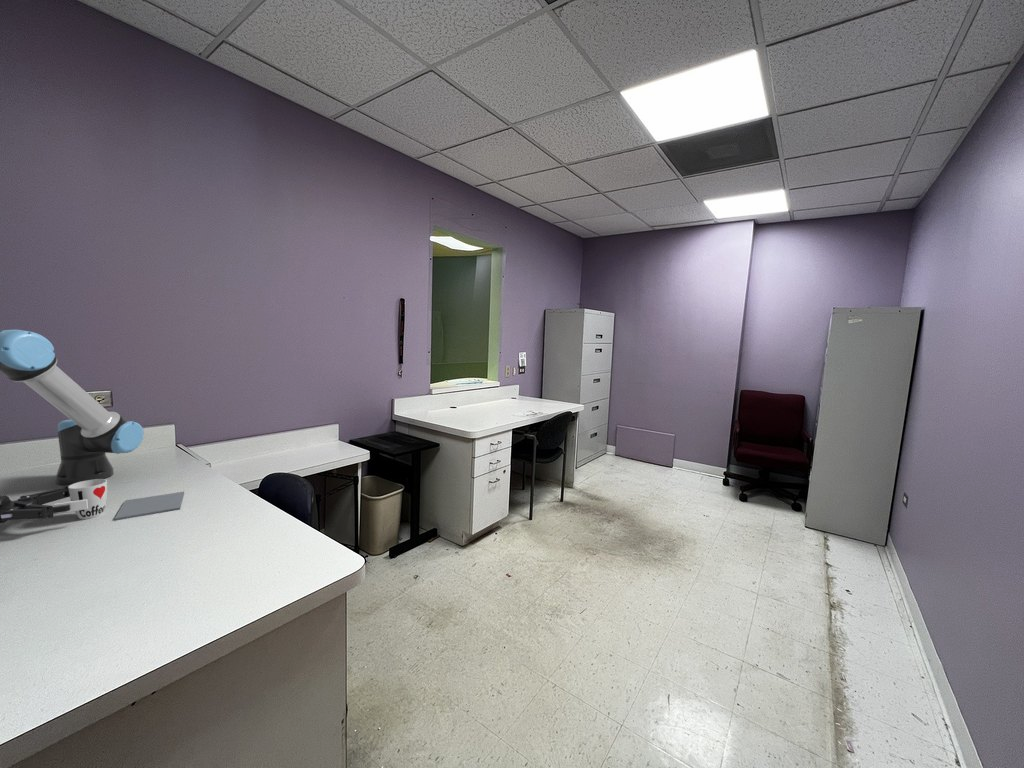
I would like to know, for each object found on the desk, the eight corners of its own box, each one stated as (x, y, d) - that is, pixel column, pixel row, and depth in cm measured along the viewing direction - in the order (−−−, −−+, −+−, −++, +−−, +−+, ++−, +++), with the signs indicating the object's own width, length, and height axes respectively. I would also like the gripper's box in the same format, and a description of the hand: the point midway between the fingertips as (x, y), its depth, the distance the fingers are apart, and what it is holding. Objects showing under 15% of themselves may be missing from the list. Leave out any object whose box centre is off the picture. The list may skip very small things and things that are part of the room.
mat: (125, 502, 134) (125, 500, 134) (184, 493, 143) (184, 491, 143) (114, 520, 121) (114, 518, 121) (180, 509, 130) (179, 507, 130)
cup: (73, 524, 118) (70, 490, 117) (69, 516, 123) (66, 484, 122) (112, 514, 125) (109, 483, 124) (107, 507, 130) (104, 477, 129)
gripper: (6, 508, 122) (105, 494, 134) (-39, 544, 102) (82, 524, 114) (3, 484, 122) (103, 472, 133) (-43, 515, 101) (80, 498, 113)
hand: (93, 496), depth 124 cm, fingers open, 13 cm apart
